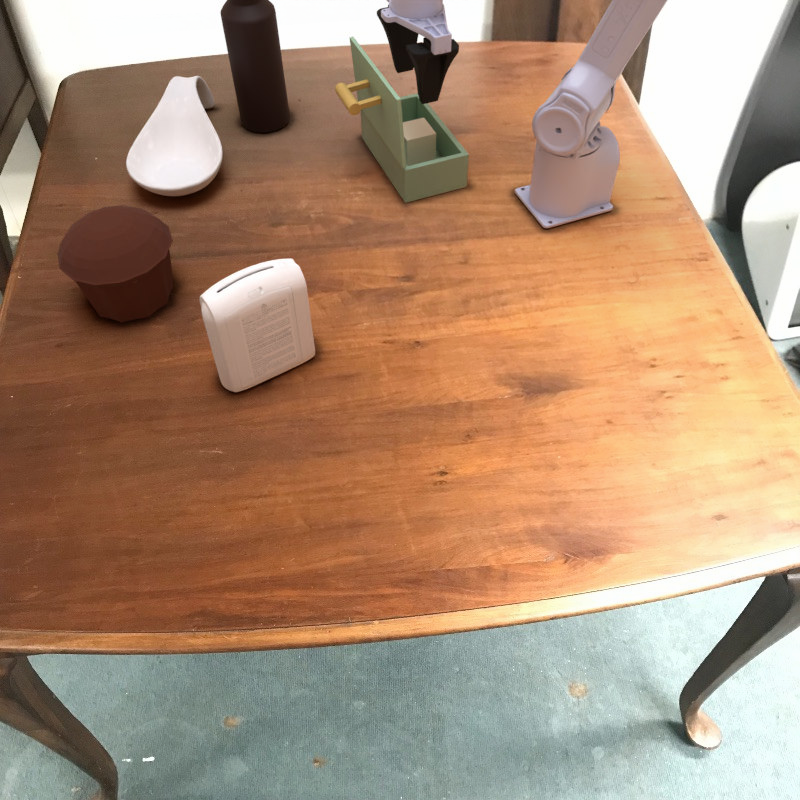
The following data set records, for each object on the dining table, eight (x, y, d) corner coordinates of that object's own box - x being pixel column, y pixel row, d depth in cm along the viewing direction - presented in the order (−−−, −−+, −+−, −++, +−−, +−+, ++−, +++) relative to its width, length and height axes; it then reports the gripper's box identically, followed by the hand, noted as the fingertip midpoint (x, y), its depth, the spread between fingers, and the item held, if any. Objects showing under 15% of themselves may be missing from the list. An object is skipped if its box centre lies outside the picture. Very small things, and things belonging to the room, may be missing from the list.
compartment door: (353, 36, 93) (317, 46, 92) (400, 98, 84) (361, 110, 83) (361, 103, 100) (328, 113, 100) (406, 167, 91) (370, 178, 90)
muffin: (98, 346, 81) (65, 273, 73) (64, 285, 86) (30, 213, 79) (203, 301, 85) (182, 228, 77) (164, 246, 90) (140, 173, 83)
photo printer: (302, 332, 82) (288, 239, 72) (323, 357, 79) (310, 264, 70) (213, 373, 78) (185, 281, 68) (232, 400, 76) (205, 310, 66)
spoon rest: (223, 209, 95) (211, 158, 89) (127, 213, 95) (109, 162, 89) (239, 105, 110) (229, 56, 104) (155, 108, 109) (141, 59, 104)
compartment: (419, 124, 106) (419, 92, 102) (467, 187, 97) (469, 154, 93) (361, 138, 104) (360, 105, 100) (405, 203, 95) (404, 170, 91)
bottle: (300, 115, 108) (280, -38, 92) (269, 139, 104) (244, -16, 89) (261, 102, 110) (237, -50, 95) (230, 125, 107) (199, -29, 91)
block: (423, 144, 102) (423, 117, 99) (435, 161, 99) (436, 133, 96) (395, 151, 101) (394, 123, 98) (407, 168, 98) (406, 140, 95)
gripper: (358, -55, 85) (364, 63, 96) (407, -1, 77) (408, 123, 87) (417, -66, 87) (416, 52, 98) (472, -14, 78) (465, 110, 89)
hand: (416, 85), depth 93 cm, fingers open, 7 cm apart
